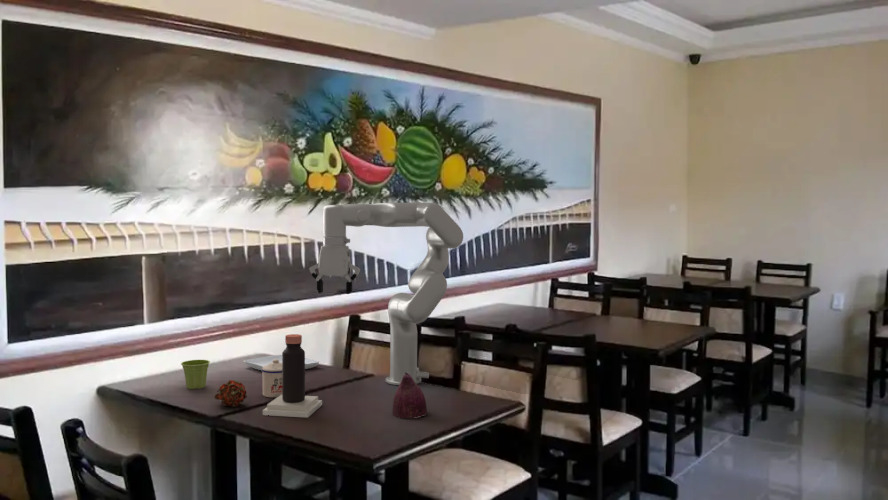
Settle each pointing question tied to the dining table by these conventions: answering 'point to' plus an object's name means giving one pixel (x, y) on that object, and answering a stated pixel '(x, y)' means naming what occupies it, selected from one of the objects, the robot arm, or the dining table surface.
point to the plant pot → (195, 373)
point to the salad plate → (263, 361)
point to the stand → (293, 407)
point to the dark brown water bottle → (293, 370)
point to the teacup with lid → (272, 379)
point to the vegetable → (409, 399)
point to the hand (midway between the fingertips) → (334, 293)
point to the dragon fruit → (231, 393)
